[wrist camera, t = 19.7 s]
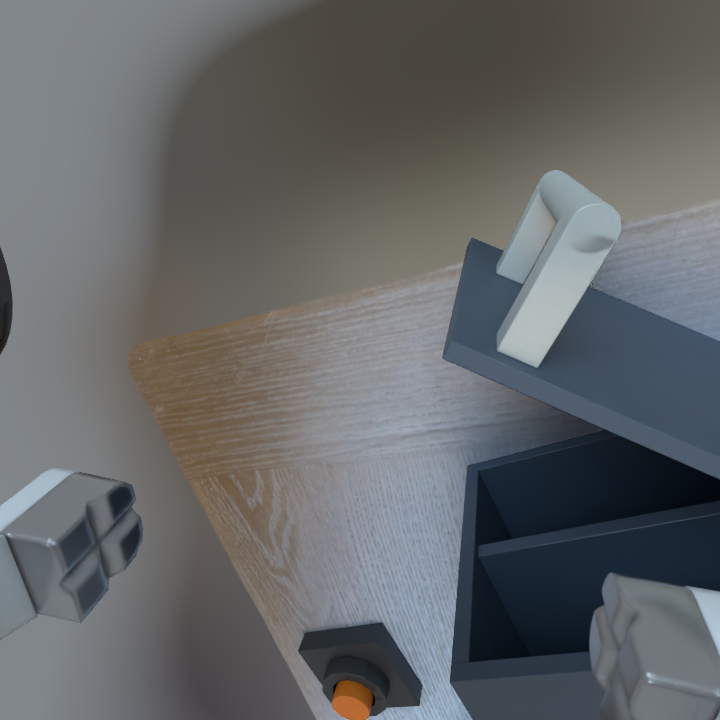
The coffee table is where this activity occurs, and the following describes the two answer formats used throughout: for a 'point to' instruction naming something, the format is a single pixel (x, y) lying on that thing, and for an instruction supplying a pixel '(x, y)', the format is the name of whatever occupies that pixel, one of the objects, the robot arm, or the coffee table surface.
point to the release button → (352, 700)
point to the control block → (362, 664)
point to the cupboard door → (584, 331)
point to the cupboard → (567, 565)
